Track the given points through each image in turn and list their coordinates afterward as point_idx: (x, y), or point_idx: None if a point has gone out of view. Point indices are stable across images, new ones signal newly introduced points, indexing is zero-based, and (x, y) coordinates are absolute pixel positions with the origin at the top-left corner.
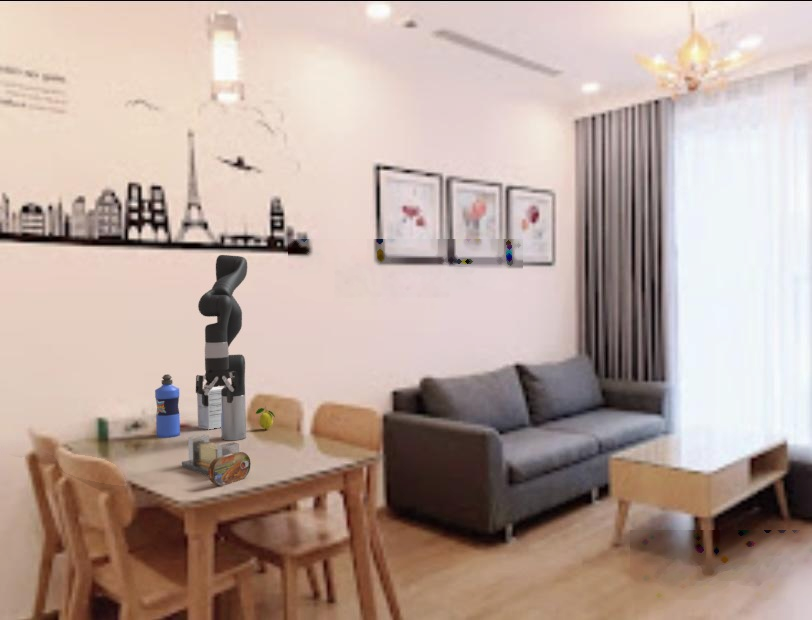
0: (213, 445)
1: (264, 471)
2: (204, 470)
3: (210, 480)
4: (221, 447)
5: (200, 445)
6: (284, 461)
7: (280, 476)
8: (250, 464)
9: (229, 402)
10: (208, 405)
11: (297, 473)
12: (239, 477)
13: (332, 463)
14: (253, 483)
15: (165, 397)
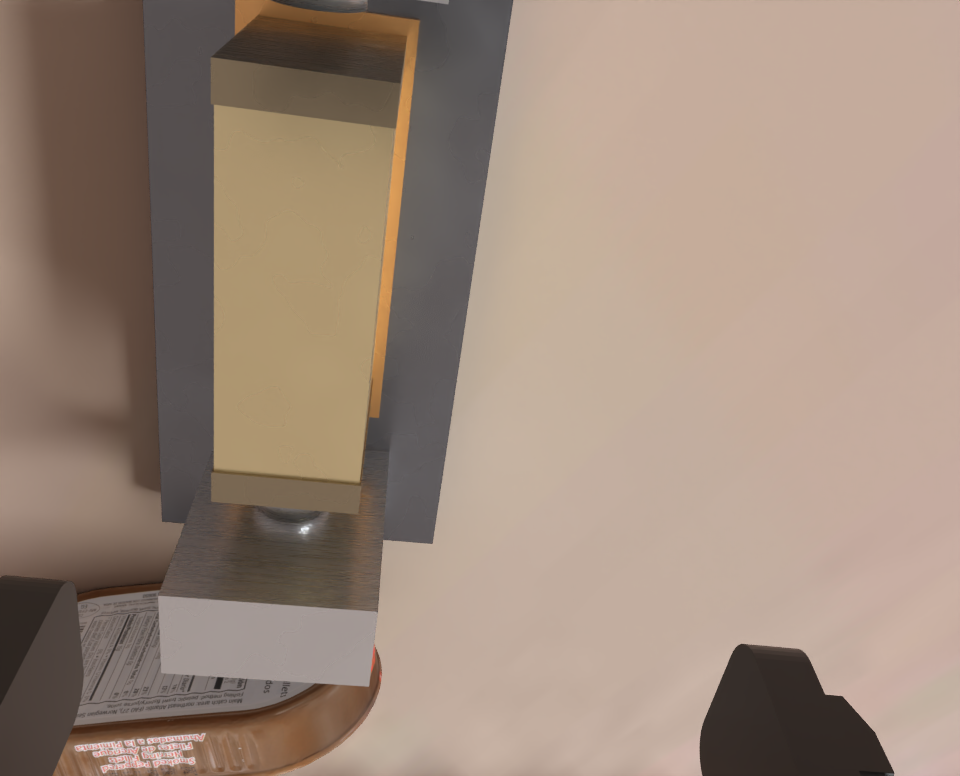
0: (305, 300)
1: (537, 580)
2: (156, 302)
3: None
4: (162, 659)
5: (216, 103)
6: (856, 489)
7: (503, 727)
8: (381, 669)
9: (709, 729)
10: (72, 720)
11: (616, 750)
12: None
13: (929, 747)
14: None
15: None
